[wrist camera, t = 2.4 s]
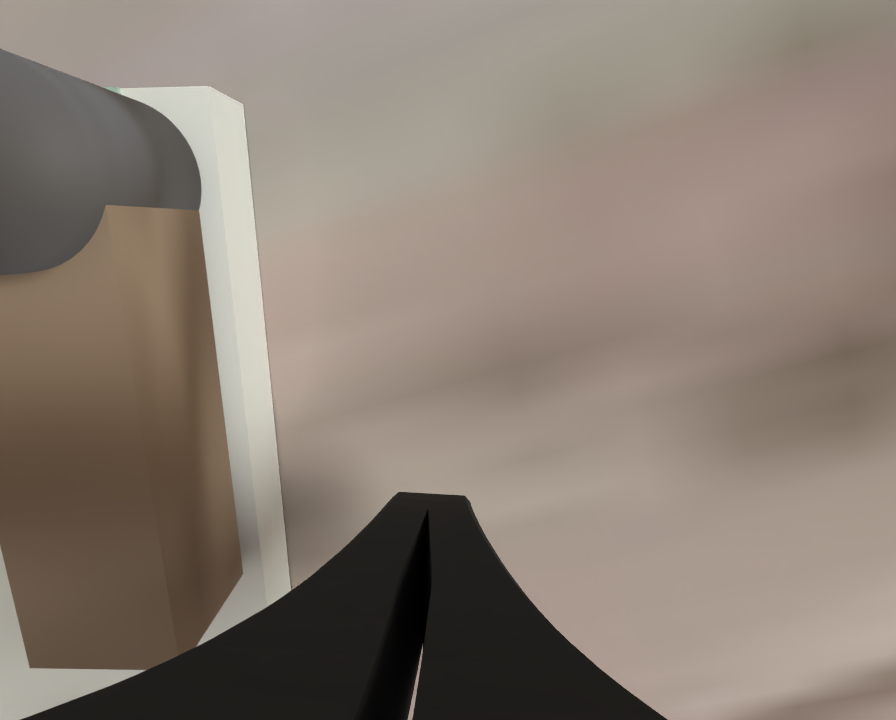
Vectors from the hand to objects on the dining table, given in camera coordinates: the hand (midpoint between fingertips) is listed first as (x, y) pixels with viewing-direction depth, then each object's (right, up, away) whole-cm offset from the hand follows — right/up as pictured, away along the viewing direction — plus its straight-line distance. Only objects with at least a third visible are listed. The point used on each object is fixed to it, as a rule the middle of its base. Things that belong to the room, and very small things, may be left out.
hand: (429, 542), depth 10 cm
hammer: (-5, +3, +1) cm, 6 cm away
